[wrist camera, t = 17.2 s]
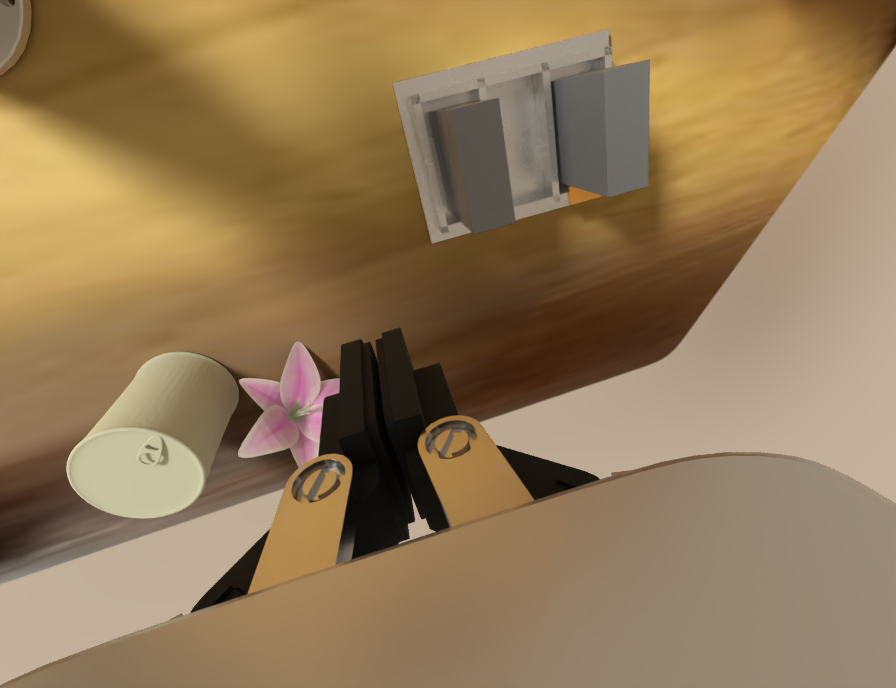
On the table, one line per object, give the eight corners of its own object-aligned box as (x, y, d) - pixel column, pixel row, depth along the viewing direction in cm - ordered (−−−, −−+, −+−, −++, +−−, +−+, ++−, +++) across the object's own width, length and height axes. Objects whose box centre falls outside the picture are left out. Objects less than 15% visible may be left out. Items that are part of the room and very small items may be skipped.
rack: (392, 83, 33) (405, 72, 25) (604, 30, 35) (684, 2, 26) (430, 241, 40) (451, 274, 32) (608, 192, 41) (673, 211, 33)
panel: (547, 82, 35) (603, 72, 27) (583, 72, 35) (649, 59, 27) (556, 181, 39) (607, 197, 31) (589, 172, 39) (648, 185, 31)
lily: (366, 421, 49) (392, 437, 41) (270, 481, 45) (276, 515, 36) (315, 329, 47) (331, 326, 38) (208, 384, 42) (198, 395, 34)
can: (253, 373, 43) (222, 455, 32) (219, 439, 45) (180, 535, 35) (152, 335, 39) (80, 415, 28) (122, 410, 42) (46, 507, 31)
